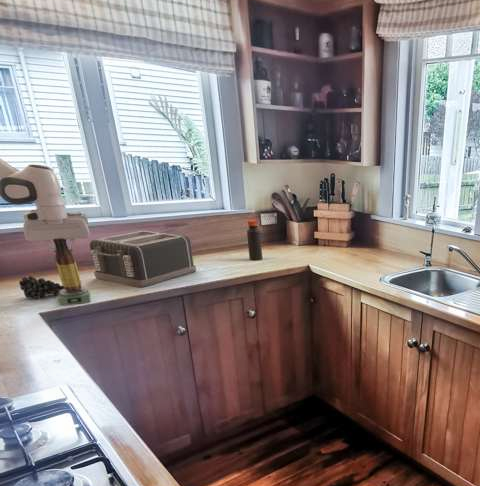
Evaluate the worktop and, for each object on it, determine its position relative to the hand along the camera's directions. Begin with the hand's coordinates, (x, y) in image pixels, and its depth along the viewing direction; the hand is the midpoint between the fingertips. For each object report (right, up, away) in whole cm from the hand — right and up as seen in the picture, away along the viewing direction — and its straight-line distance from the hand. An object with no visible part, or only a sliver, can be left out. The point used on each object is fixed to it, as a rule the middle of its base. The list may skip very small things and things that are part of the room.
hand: (62, 251), depth 174 cm
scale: (0, -17, +8) cm, 19 cm away
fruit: (-14, -16, +11) cm, 24 cm away
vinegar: (+53, +13, +76) cm, 93 cm away
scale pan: (0, -14, +7) cm, 16 cm away
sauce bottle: (0, -13, +6) cm, 15 cm away
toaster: (+10, -2, +41) cm, 42 cm away
